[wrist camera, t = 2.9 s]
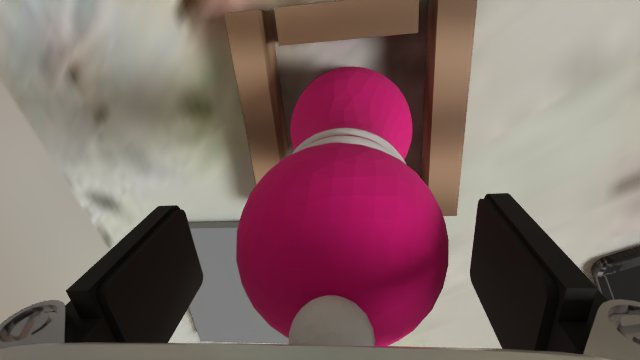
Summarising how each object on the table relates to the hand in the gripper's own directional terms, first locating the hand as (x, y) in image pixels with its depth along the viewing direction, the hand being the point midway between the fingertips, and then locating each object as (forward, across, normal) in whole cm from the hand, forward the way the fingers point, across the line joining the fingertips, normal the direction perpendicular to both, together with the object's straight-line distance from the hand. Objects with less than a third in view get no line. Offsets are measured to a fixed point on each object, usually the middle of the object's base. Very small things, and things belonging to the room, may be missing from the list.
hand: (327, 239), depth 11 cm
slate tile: (+16, +9, +15) cm, 24 cm away
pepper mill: (+15, -1, -1) cm, 15 cm away
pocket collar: (+15, -1, -1) cm, 15 cm away
